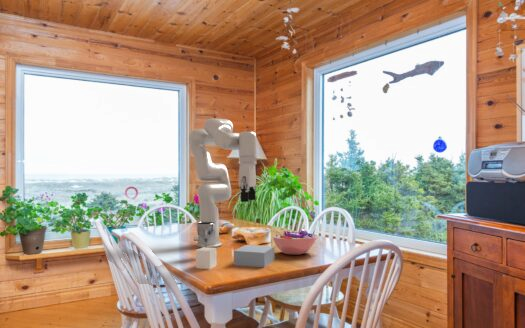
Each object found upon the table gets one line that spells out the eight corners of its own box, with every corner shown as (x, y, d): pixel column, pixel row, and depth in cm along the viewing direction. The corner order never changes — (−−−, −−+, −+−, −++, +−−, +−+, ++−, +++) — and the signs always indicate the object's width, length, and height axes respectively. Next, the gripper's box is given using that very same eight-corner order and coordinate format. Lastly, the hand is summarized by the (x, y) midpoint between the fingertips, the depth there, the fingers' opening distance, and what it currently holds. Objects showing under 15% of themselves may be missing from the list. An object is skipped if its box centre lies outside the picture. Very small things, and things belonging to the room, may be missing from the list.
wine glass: (200, 259, 163) (199, 224, 163) (194, 256, 170) (194, 222, 170) (217, 257, 166) (217, 223, 167) (211, 254, 173) (211, 221, 174)
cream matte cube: (196, 268, 149) (195, 250, 150) (203, 264, 155) (203, 247, 155) (209, 269, 148) (209, 251, 148) (216, 265, 153) (216, 248, 153)
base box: (234, 265, 153) (233, 250, 154) (246, 258, 166) (245, 244, 166) (264, 268, 149) (264, 252, 149) (274, 260, 161) (274, 246, 162)
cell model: (273, 250, 181) (272, 226, 181) (315, 249, 181) (314, 225, 181) (272, 258, 164) (272, 232, 164) (319, 258, 164) (319, 231, 164)
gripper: (246, 161, 173) (246, 199, 172) (232, 160, 156) (232, 202, 156) (261, 161, 171) (262, 199, 170) (249, 160, 154) (250, 202, 154)
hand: (248, 200), depth 163 cm, fingers open, 9 cm apart
